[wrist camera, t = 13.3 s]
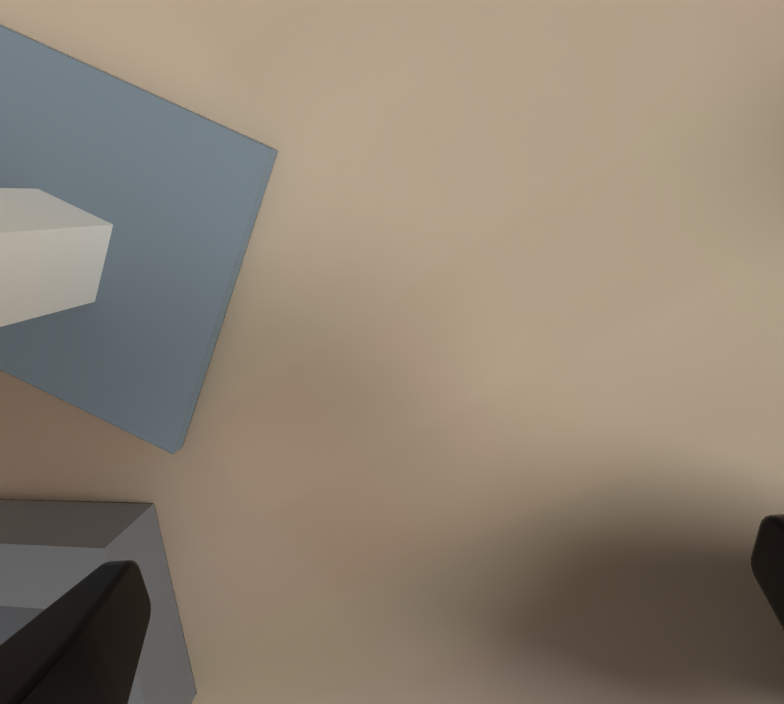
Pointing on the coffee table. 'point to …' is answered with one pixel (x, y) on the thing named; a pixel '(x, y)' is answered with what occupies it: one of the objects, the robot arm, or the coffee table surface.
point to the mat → (128, 236)
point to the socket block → (77, 560)
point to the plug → (47, 254)
